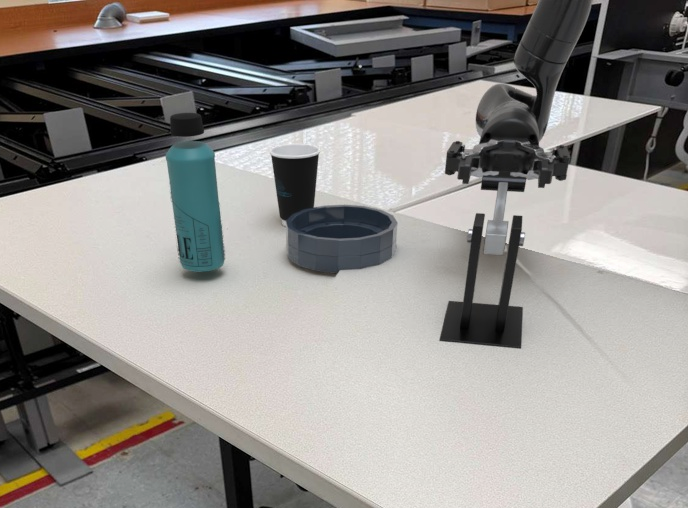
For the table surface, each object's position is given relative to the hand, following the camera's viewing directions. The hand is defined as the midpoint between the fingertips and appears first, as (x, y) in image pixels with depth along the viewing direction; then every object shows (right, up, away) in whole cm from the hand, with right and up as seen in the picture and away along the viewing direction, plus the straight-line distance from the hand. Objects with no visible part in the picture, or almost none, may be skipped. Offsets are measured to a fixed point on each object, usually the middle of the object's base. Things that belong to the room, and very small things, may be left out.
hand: (504, 176), depth 81 cm
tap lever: (-1, -5, 0) cm, 5 cm away
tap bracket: (-2, -17, +3) cm, 17 cm away
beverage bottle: (-37, -5, +19) cm, 42 cm away
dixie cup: (-24, +9, +35) cm, 44 cm away
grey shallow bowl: (-17, -1, +23) cm, 29 cm away
